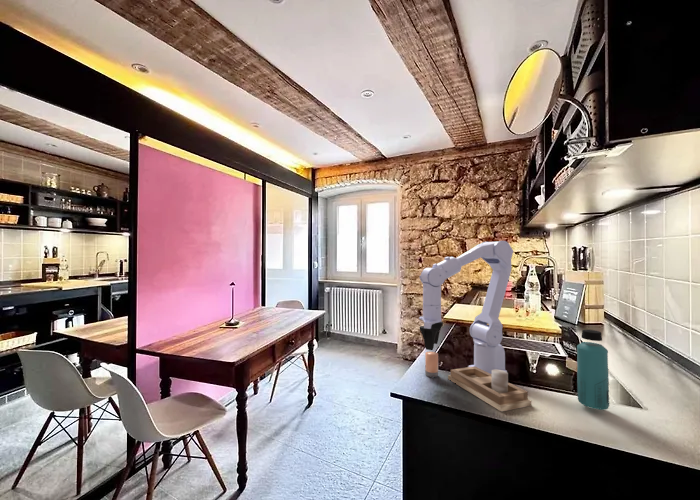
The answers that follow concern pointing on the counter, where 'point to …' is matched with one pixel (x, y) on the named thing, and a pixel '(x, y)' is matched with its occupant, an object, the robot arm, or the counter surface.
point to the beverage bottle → (592, 372)
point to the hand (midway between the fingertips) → (431, 346)
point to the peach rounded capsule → (431, 364)
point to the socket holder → (491, 387)
